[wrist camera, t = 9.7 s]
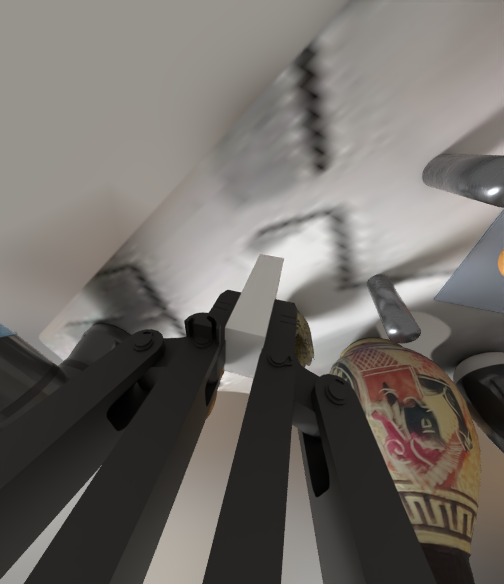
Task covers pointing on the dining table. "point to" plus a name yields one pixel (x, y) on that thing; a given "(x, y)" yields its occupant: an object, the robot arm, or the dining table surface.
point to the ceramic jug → (421, 446)
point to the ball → (501, 262)
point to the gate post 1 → (392, 310)
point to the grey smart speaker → (484, 392)
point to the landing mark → (479, 274)
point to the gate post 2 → (468, 176)
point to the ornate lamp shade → (303, 342)
